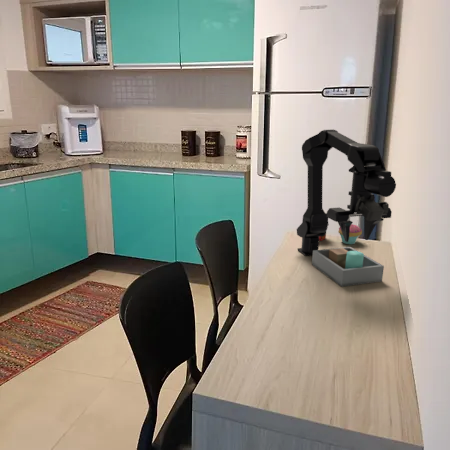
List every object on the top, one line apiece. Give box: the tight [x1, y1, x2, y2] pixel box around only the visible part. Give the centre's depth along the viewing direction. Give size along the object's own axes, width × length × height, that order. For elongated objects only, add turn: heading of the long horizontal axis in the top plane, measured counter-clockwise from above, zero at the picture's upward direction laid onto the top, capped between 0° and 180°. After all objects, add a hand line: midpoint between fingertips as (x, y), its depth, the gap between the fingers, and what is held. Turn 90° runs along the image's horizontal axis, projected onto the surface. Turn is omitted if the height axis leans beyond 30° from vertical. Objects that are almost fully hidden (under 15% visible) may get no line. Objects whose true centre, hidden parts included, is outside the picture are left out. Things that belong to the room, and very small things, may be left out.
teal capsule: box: [345, 250, 365, 269], centre depth 135 cm, size 5×5×7 cm
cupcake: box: [338, 223, 363, 245], centre depth 168 cm, size 9×8×12 cm
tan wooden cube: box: [328, 247, 348, 269], centre depth 143 cm, size 5×5×5 cm
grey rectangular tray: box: [311, 246, 385, 288], centre depth 140 cm, size 18×14×5 cm
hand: (356, 240), depth 133 cm, fingers open, 6 cm apart
